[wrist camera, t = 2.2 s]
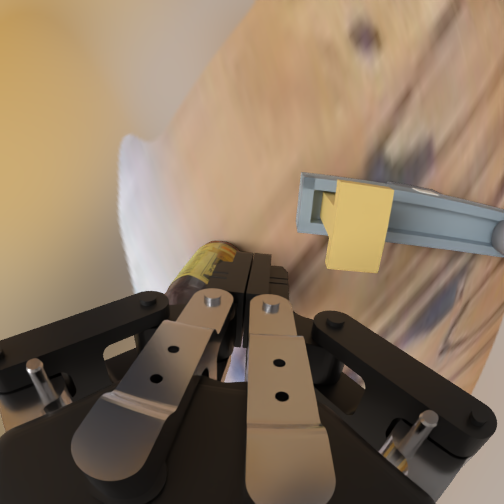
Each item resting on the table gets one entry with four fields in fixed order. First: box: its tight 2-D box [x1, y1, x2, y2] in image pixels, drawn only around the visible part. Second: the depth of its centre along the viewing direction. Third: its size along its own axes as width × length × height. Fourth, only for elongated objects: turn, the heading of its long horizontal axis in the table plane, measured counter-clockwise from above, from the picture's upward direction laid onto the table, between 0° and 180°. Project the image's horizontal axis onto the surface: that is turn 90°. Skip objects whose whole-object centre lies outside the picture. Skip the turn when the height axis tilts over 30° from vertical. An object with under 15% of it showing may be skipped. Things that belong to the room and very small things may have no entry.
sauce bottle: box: [165, 241, 240, 305], centre depth 27 cm, size 7×6×20 cm
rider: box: [320, 179, 394, 273], centre depth 24 cm, size 4×6×7 cm, turn 176°
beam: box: [296, 172, 504, 258], centre depth 27 cm, size 26×5×10 cm, turn 86°
